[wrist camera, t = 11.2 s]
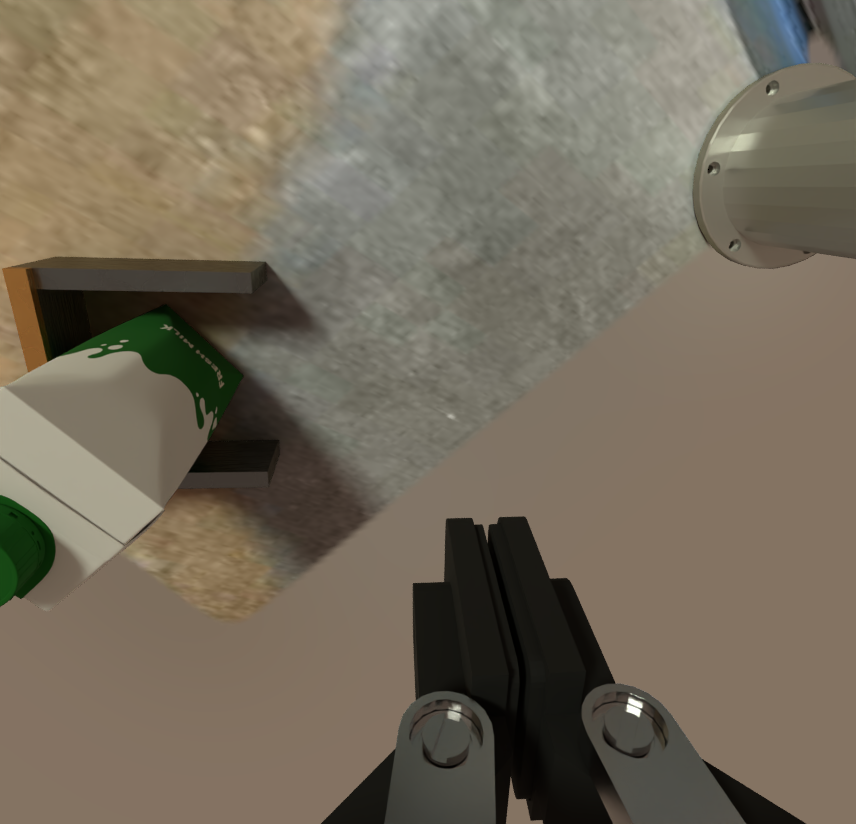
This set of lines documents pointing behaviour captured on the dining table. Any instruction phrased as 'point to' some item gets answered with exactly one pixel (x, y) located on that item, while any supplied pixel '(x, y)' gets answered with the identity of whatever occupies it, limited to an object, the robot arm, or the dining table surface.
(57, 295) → the bracket
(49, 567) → the soya milk
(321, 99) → the dining table surface
